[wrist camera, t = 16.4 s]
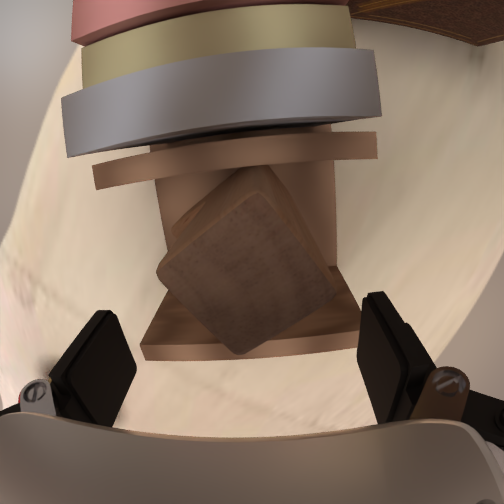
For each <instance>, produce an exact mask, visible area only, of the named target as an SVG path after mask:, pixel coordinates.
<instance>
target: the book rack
mask: <svg viewBox="0 0 504 504" xmlns="http://www.w3.org/2000/svg"><path fill="white" fill-rule="evenodd" d="M348 1H349V0H73V13H72V33H71V41H72V42H75V43H77V44H80V45H82V46H85V47H84V48H81V52H82V83H83V89H82V90H80V91H77V92H74V93H72V94H69V95H67V96H65V97H62V98H61V104H62V117H63V127H64V136H65V144H66V152H67V158H69V157H75V156H80V155H85V154H91V153H97V152H103V151H110V150H116V149H123V148H131V147H138V146H147V145H150V153H145V154H140V155H135V156H130V157H126V158H121V159H117V160H113V161H108V162H104V163H100V164H96V165H92V169H93V175H94V181H95V187H96V190H100V189H104V188H109V187H114V186H119V185H124V184H130V183H135V182H141V181H146V180H152V179H155V185H156V191H157V197H158V203H159V208H160V214H161V219H162V224H163V230H164V235H165V240H166V245H167V249H168V251H169V250H170V248H171V247H172V246H173V244H174V243H175V242H176V240H177V239H176V238H175V236H174V235H173V234H172V232H171V228H172V226H173V225H174V224H175V223H176V222H177V221H178V220H179V219H180V218H181V217H182V216H183V215H184V214H185V213H186V212H187V211H188V210H189V209H191V208H192V207H193V206H194V205H195V204H196V203H198V202H199V201H200V200H201V199H202V198H204V197H205V196H206V195H207V194H208V193H210V192H211V191H212V190H213V189H215V188H216V187H217V186H218V185H219V184H221V183H222V182H223V181H224V180H226V179H227V178H228V177H229V176H231V175H232V174H233V173H234V172H236V171H237V170H238V169H239V168H241V167H247V166H257V165H267V164H268V165H269V167H270V168H271V169H272V170H273V172H274V173H275V174H276V175H277V177H278V178H279V179H280V181H281V182H282V183H283V184H284V186H285V187H286V188H287V190H288V191H289V193H290V195H291V197H292V198H293V200H294V202H295V204H296V206H297V208H298V210H299V211H300V213H301V215H302V217H303V219H304V221H305V223H306V225H307V227H308V229H309V230H310V232H311V234H312V236H313V238H314V240H315V242H316V244H317V246H318V248H319V250H320V252H321V254H322V256H323V258H324V260H325V262H326V264H327V266H328V268H329V270H330V272H331V274H332V276H333V278H334V280H335V282H336V287H337V294H336V295H335V297H334V298H333V299H332V300H331V301H329V302H328V303H326V304H325V305H323V306H322V307H320V308H319V309H317V310H316V311H314V312H313V313H311V314H310V315H308V316H307V317H305V318H303V319H302V320H300V321H299V322H297V323H295V324H294V325H292V326H291V327H289V328H287V329H286V330H284V331H283V332H281V333H279V334H278V335H276V336H274V337H273V338H271V339H269V340H268V341H266V342H264V343H263V344H261V345H259V346H258V347H256V348H254V349H252V350H251V351H249V352H247V353H246V354H243V355H236V354H234V353H232V352H231V351H230V350H229V349H228V348H227V347H226V346H225V345H224V344H223V343H222V342H221V341H219V340H218V339H217V338H216V337H215V336H214V335H213V334H212V333H211V332H210V331H209V330H208V329H207V328H206V327H205V326H204V325H203V324H202V323H201V322H200V321H199V320H198V319H197V318H196V317H195V316H194V315H193V314H192V313H191V312H190V311H189V310H188V309H187V308H186V307H185V306H184V305H183V304H182V303H181V302H180V301H179V300H178V299H177V298H176V297H175V296H174V295H173V294H172V293H171V292H170V291H169V290H168V292H167V294H166V295H165V297H164V299H163V301H162V303H161V305H160V307H159V308H158V310H157V312H156V314H155V316H154V318H153V320H152V322H151V324H150V326H149V327H148V329H147V331H146V333H145V335H144V337H143V339H142V341H141V343H140V347H141V350H142V352H143V355H144V358H145V360H146V361H212V360H237V359H255V358H269V357H281V356H292V355H302V354H311V353H320V352H328V351H336V350H343V349H350V348H356V347H358V339H359V331H360V321H361V310H360V308H359V306H358V304H357V302H356V300H355V298H354V297H353V295H352V293H351V291H350V289H349V287H348V285H347V284H346V282H345V280H344V278H343V276H342V274H341V273H340V271H339V269H338V267H337V232H336V195H335V174H334V160H348V159H378V158H377V139H376V132H332V131H331V124H332V123H338V122H345V121H351V120H358V119H365V118H373V117H381V116H382V113H381V103H380V94H379V85H378V77H377V70H376V63H375V57H374V51H373V50H366V49H356V44H355V38H354V33H353V27H352V22H351V17H350V12H349V8H348V6H345V5H346V4H347V3H348Z"/></svg>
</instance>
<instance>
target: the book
mask: <svg viewBox="0 0 504 504" xmlns="http://www.w3.org/2000/svg"><path fill="white" fill-rule="evenodd" d="M345 6H348V8H349V12H350V17H351V18H355V19H363V20H371V21H378V22H384V23H390V24H396V25H401V26H406V27H411V28H416V29H420V30H424V31H428V32H432V33H436V34H440V35H443V36H447V37H450V38H454V39H457V40H460V41H463V42H466V43H469V44H472V45H475V46H482V45H487V44H491V43H495V42H499V41H503V40H504V0H349V1H348V3H347V4H346V5H345Z"/></svg>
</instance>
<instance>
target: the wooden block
mask: <svg viewBox="0 0 504 504" xmlns="http://www.w3.org/2000/svg"><path fill="white" fill-rule="evenodd" d="M171 232H172V234H173V235H174V236H175V238H176V239H177V240H176V242H175V243H174V244H173V246H172V247H171V248H170V250H169V251H168V252H167V254H166V255H165V256H164V258H163V259H162V261H161V262H160V263H159V266H158V268H157V270H156V274H157V276H158V278H159V280H160V281H161V282H162V284H163V285H164V286H165V287H166V288H167V289H168V290H169V291H170V292H171V293H172V294H173V295H174V296H175V297H176V298H177V299H178V300H179V301H180V302H181V303H182V304H183V305H184V306H185V307H186V308H187V309H188V310H189V311H190V312H191V313H192V314H193V315H194V316H195V317H196V318H197V319H198V320H199V321H200V322H201V323H202V324H203V325H204V326H205V327H206V328H207V329H208V330H209V331H210V332H211V333H212V334H213V335H214V336H215V337H216V338H217V339H218V340H219V341H221V342H222V343H223V344H224V345H225V346H226V347H227V348H228V349H229V350H230V351H231V352H232V353H234V354H236V355H243V354H246V353H247V352H249V351H251V350H252V349H254V348H256V347H258V346H259V345H261V344H263V343H264V342H266V341H268V340H269V339H271V338H273V337H274V336H276V335H278V334H279V333H281V332H283V331H284V330H286V329H287V328H289V327H291V326H292V325H294V324H295V323H297V322H299V321H300V320H302V319H303V318H305V317H307V316H308V315H310V314H311V313H313V312H314V311H316V310H317V309H319V308H320V307H322V306H323V305H325V304H326V303H328V302H329V301H331V300H332V299H333V298H334V297H335V295H336V294H337V287H336V282H335V280H334V278H333V276H332V274H331V272H330V270H329V268H328V266H327V264H326V262H325V260H324V258H323V256H322V254H321V252H320V250H319V248H318V246H317V244H316V242H315V240H314V238H313V236H312V234H311V232H310V230H309V229H308V227H307V225H306V223H305V221H304V219H303V217H302V215H301V213H300V211H299V210H298V208H297V206H296V204H295V202H294V200H293V198H292V197H291V195H290V193H289V191H288V190H287V188H286V187H285V186H284V184H283V183H282V182H281V181H280V179H279V178H278V177H277V175H276V174H275V173H274V172H273V170H272V169H271V168H270V167H269V165H268V164H267V165H257V166H247V167H241V168H239V169H238V170H237V171H236V172H234V173H233V174H232V175H231V176H229V177H228V178H227V179H226V180H224V181H223V182H222V183H221V184H219V185H218V186H217V187H216V188H215V189H213V190H212V191H211V192H210V193H208V194H207V195H206V196H205V197H204V198H202V199H201V200H200V201H199V202H198V203H196V204H195V205H194V206H193V207H192V208H191V209H189V210H188V211H187V212H186V213H185V214H184V215H183V216H182V217H181V218H180V219H179V220H178V221H177V222H176V223H175V224H174V225H173V226H172V228H171Z"/></svg>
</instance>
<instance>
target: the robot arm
mask: <svg viewBox="0 0 504 504" xmlns="http://www.w3.org/2000/svg"><path fill="white" fill-rule="evenodd" d="M357 362H358V365H359V368H360V371H361V374H362V377H363V380H364V383H365V386H366V389H367V392H368V395H369V398H370V401H371V404H372V407H373V410H374V413H375V416H376V420H377V423H378V424H377V425H370V426H364V427H358V428H352V429H345V430H338V431H330V432H321V433H313V434H303V435H291V436H276V437H251V438H216V437H192V436H177V435H165V434H156V433H147V432H139V431H131V430H125V429H118V428H112V426H113V424H114V422H115V419H116V417H117V415H118V412H119V410H120V408H121V406H122V403H123V401H124V399H125V396H126V394H127V392H128V390H129V387H130V385H131V383H132V381H133V379H134V376H135V374H136V371H137V366H136V363H135V361H134V358H133V356H132V354H131V351H130V349H129V346H128V344H127V341H126V339H125V336H124V334H123V331H122V328H121V326H120V323H119V320H118V318H117V315H116V314H113V312H112V311H111V310H98V311H96V312H95V314H94V315H93V316H92V317H91V319H90V320H89V321H88V323H87V324H86V325H85V326H84V328H83V329H82V330H81V332H80V333H79V334H78V335H77V337H76V338H75V339H74V341H73V342H72V343H71V345H70V346H69V347H68V349H67V350H66V351H65V353H64V354H63V355H62V357H61V358H60V360H59V361H58V362H57V364H56V365H55V366H54V368H53V369H52V371H51V372H50V373H49V377H50V378H51V380H52V381H51V383H49V382H48V381H47V380H44V379H37V380H33V381H31V382H29V383H28V384H27V385H26V386H25V387H24V388H23V389H22V391H21V393H20V403H18V404H15V405H13V406H11V407H8V408H6V409H4V410H2V411H0V504H504V401H503V400H499V399H496V398H493V397H490V396H487V395H484V394H481V393H478V392H475V391H472V390H470V382H469V379H468V377H467V376H466V374H465V373H463V372H462V371H461V370H459V369H457V368H454V367H448V366H446V367H440V368H436V366H435V364H434V363H433V361H432V359H431V358H430V356H429V354H428V353H427V351H426V349H425V348H424V346H423V345H422V343H421V341H420V340H419V338H418V337H417V335H416V334H415V332H414V330H413V329H412V327H411V326H410V325H409V324H408V323H404V321H403V320H402V318H401V317H400V315H399V313H398V312H397V310H396V309H395V307H394V306H393V304H392V303H391V301H390V300H389V298H388V297H387V295H386V294H385V292H384V291H380V292H372V293H368V295H367V297H364V298H363V301H362V311H361V321H360V331H359V339H358V348H357Z"/></svg>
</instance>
